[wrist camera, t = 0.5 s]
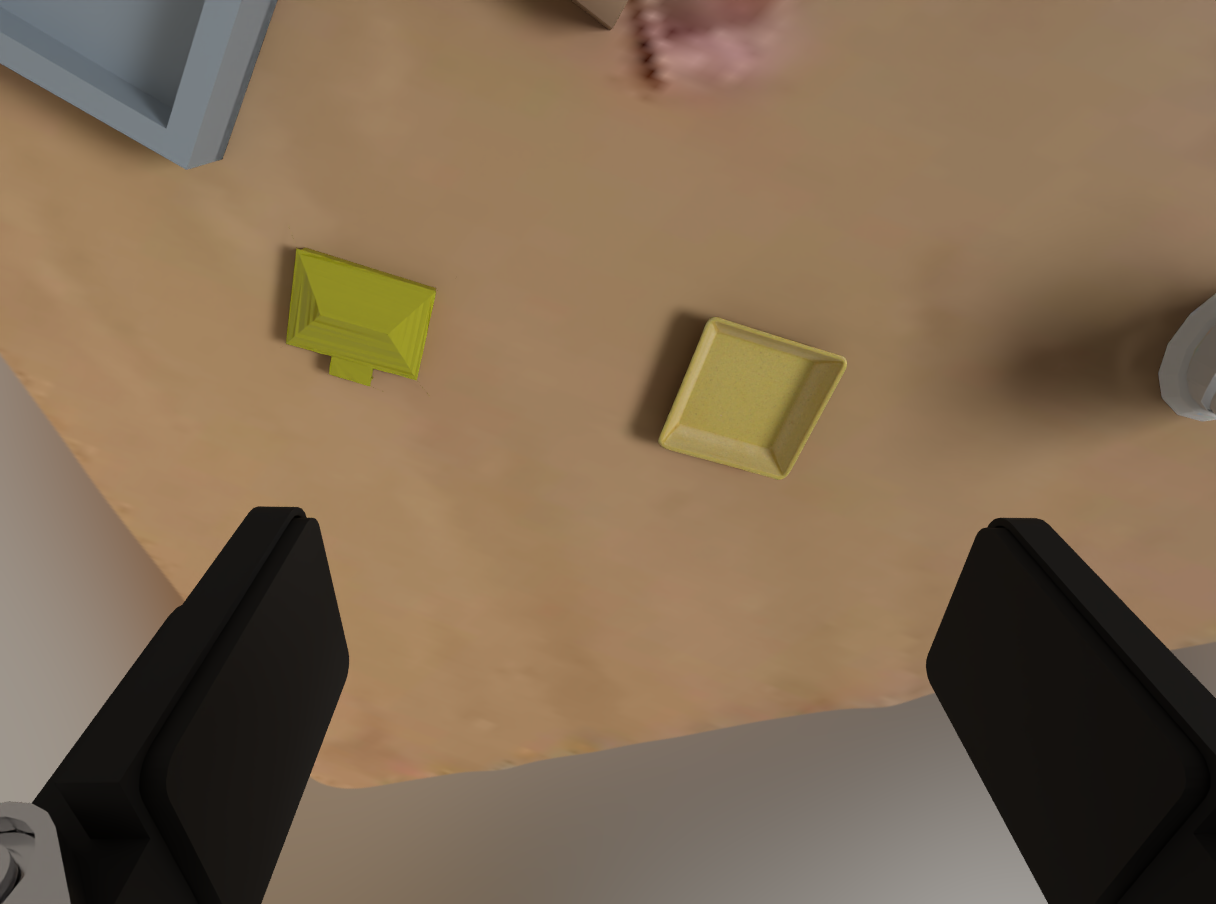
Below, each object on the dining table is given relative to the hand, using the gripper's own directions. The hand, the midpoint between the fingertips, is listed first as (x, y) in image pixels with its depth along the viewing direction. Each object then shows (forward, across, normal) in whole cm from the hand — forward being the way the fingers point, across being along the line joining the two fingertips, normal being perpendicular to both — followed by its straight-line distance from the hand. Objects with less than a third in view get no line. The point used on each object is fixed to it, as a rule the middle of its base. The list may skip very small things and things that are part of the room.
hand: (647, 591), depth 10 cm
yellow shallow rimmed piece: (+30, -9, +11) cm, 33 cm away
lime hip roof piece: (+30, +13, +7) cm, 34 cm away
